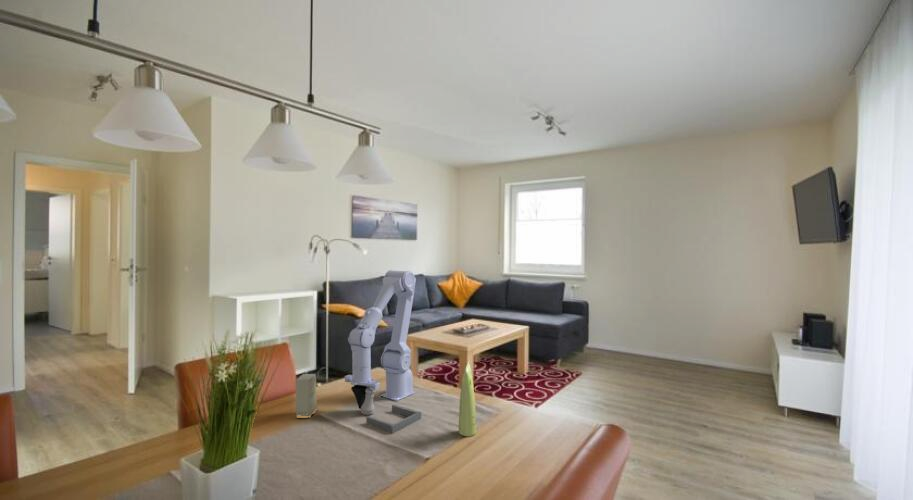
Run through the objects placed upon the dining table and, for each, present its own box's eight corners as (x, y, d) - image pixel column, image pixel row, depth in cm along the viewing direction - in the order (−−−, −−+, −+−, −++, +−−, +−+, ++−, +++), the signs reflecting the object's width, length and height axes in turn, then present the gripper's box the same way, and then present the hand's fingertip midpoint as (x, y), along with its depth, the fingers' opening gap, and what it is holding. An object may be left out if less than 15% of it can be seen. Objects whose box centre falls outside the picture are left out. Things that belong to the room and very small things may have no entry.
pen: (394, 410, 135) (394, 404, 135) (421, 418, 129) (421, 412, 129) (365, 424, 125) (365, 417, 125) (392, 433, 119) (392, 426, 119)
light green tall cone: (481, 434, 118) (480, 365, 117) (466, 439, 115) (465, 368, 114) (469, 427, 122) (468, 360, 122) (454, 431, 119) (454, 363, 119)
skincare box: (309, 419, 129) (309, 379, 129) (295, 419, 129) (294, 379, 129) (317, 410, 136) (316, 373, 135) (303, 410, 136) (302, 373, 135)
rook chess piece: (369, 406, 136) (372, 383, 135) (377, 413, 133) (380, 389, 132) (357, 410, 133) (360, 386, 132) (364, 416, 130) (368, 392, 129)
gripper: (336, 365, 136) (337, 406, 136) (367, 372, 127) (368, 417, 128) (354, 359, 142) (354, 400, 142) (384, 367, 133) (385, 409, 133)
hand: (362, 407), depth 135 cm, fingers closed
